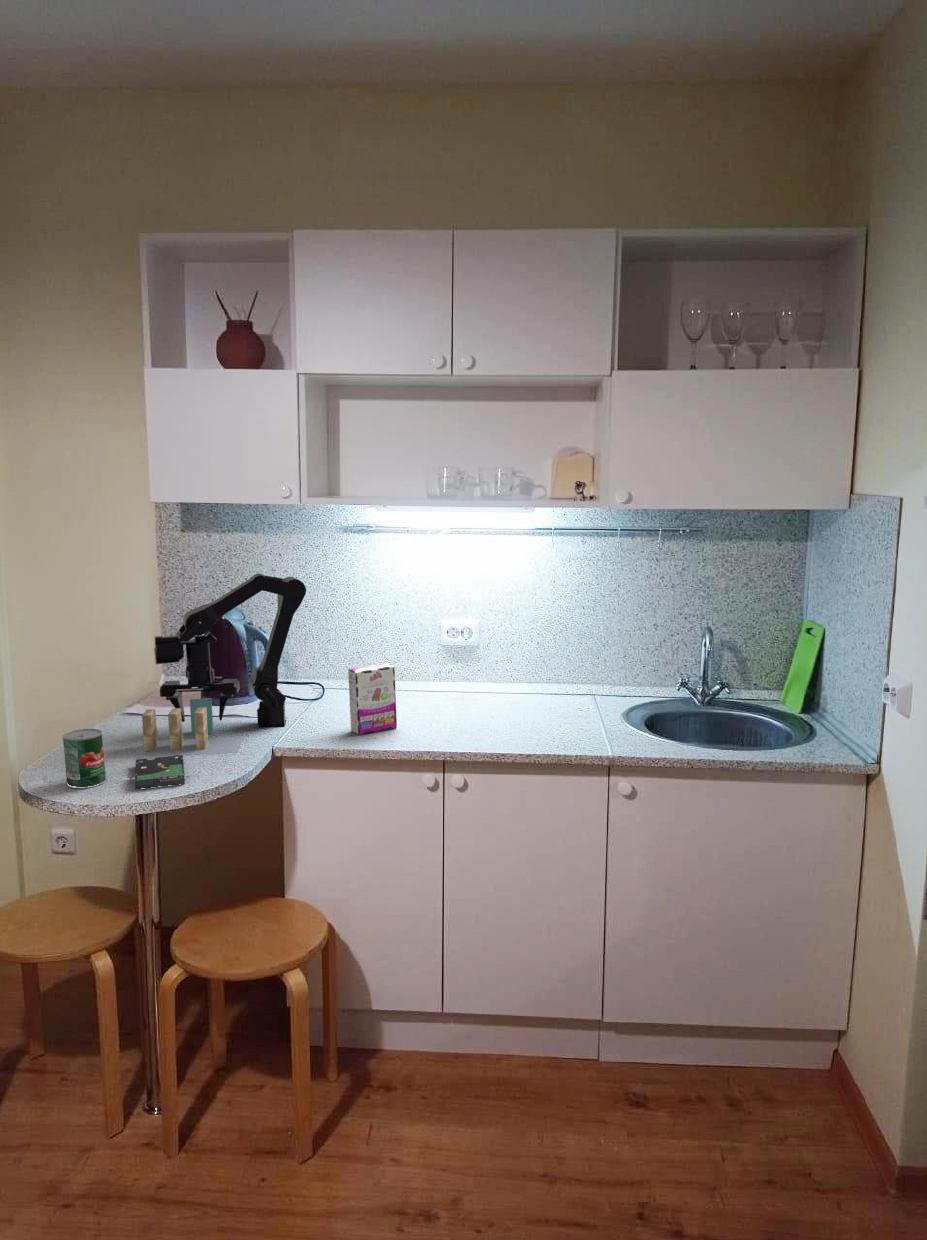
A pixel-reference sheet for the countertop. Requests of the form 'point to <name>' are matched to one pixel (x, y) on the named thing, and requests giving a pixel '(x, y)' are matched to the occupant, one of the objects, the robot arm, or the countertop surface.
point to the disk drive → (159, 772)
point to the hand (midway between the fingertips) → (202, 720)
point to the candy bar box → (372, 698)
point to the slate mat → (193, 748)
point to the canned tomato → (84, 757)
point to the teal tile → (198, 704)
